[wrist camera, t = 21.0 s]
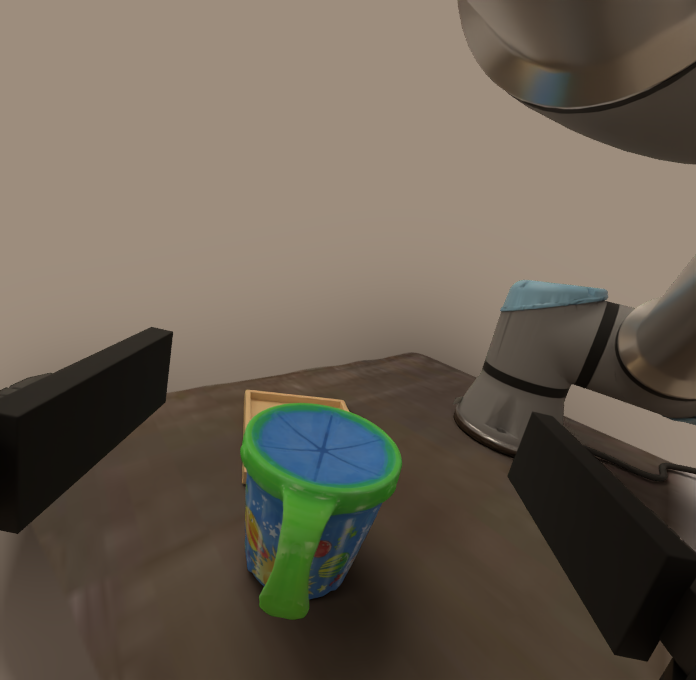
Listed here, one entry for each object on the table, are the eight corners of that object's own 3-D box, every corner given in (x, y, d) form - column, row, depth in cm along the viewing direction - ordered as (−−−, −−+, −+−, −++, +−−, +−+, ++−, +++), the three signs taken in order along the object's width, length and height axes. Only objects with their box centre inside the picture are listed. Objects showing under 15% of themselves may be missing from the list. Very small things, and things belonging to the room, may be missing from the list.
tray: (341, 408, 55) (343, 400, 55) (378, 490, 40) (381, 479, 39) (244, 398, 52) (245, 389, 51) (241, 484, 36) (244, 471, 36)
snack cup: (345, 704, 21) (394, 549, 18) (164, 634, 22) (186, 480, 20) (378, 514, 36) (408, 413, 33) (268, 479, 37) (289, 379, 35)
